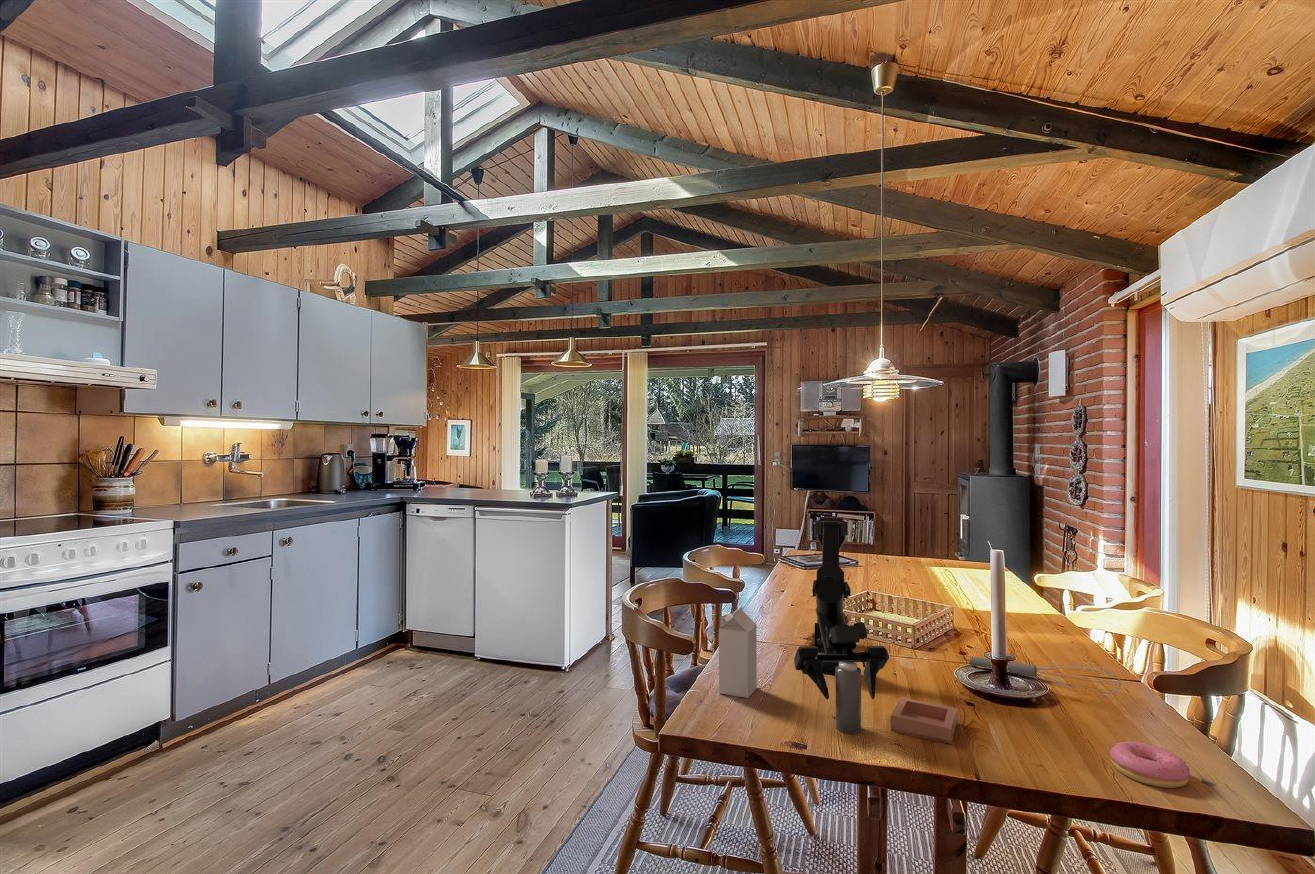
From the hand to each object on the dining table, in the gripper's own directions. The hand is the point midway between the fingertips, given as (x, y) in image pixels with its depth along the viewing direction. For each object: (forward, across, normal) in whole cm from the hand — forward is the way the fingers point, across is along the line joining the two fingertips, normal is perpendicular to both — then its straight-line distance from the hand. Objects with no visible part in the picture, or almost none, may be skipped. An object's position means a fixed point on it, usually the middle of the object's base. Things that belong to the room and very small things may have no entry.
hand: (850, 698), depth 122 cm
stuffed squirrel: (-33, +12, +43) cm, 55 cm away
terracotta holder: (+3, +16, +6) cm, 17 cm away
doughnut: (+17, +46, -7) cm, 50 cm away
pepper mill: (+4, 0, +6) cm, 7 cm away
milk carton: (-10, -19, +20) cm, 30 cm away
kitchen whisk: (-14, +56, +24) cm, 62 cm away
